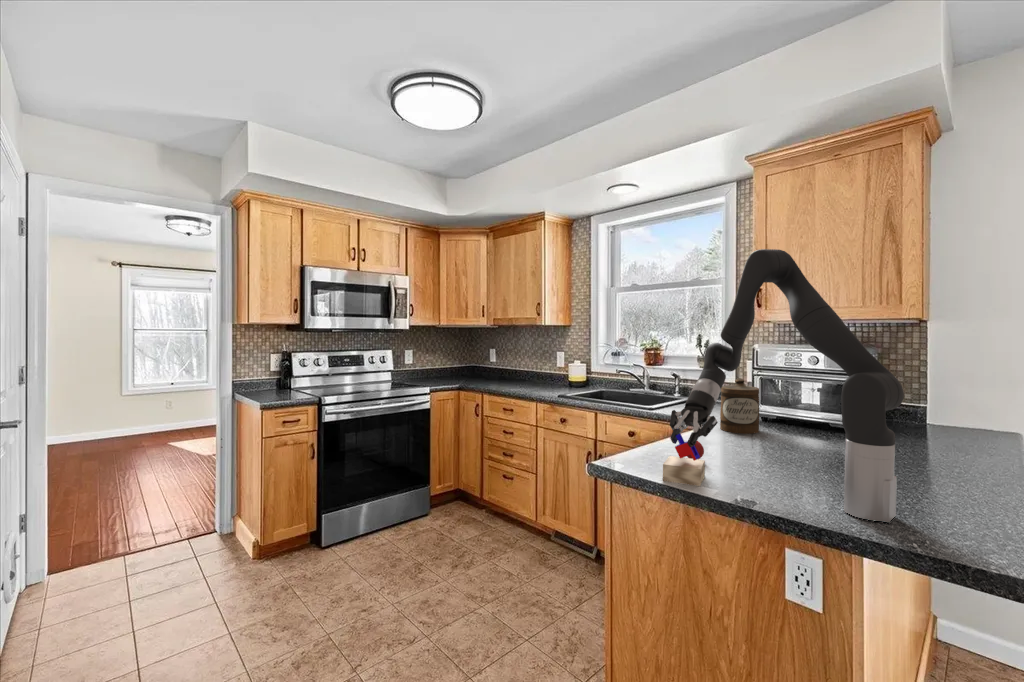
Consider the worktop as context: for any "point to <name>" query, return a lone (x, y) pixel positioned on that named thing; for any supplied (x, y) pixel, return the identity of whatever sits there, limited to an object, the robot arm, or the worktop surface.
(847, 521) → the worktop surface
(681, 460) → the maple block
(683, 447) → the toy building block
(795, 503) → the worktop surface
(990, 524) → the worktop surface
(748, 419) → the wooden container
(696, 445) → the onion
